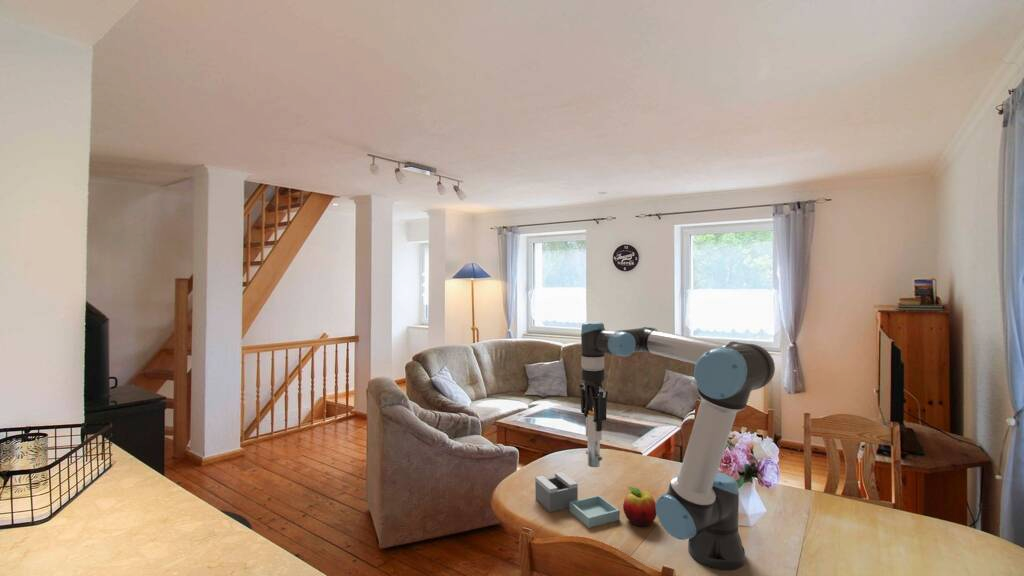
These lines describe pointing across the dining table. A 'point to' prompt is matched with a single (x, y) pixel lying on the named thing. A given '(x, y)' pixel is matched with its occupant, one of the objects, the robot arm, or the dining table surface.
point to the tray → (594, 511)
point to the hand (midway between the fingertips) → (593, 437)
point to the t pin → (592, 443)
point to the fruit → (639, 507)
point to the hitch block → (556, 491)
